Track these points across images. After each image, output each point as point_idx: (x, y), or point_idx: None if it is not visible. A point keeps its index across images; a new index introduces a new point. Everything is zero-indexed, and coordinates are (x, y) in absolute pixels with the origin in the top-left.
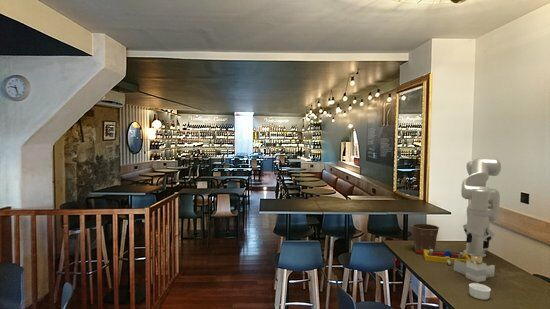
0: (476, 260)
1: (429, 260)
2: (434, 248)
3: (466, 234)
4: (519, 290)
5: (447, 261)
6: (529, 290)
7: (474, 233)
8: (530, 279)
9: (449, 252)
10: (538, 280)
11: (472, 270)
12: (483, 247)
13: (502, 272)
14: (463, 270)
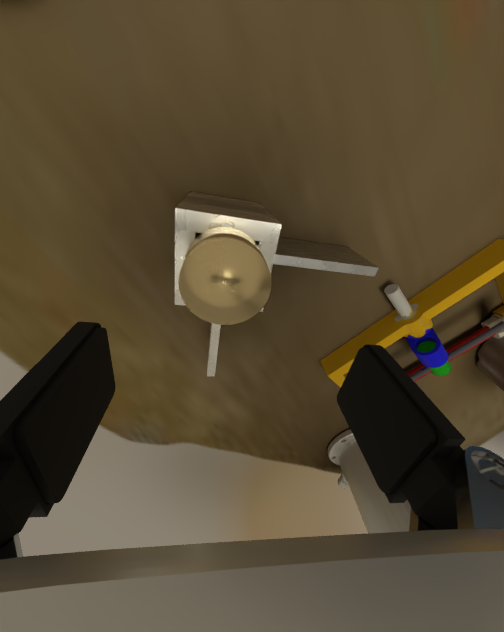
0: (200, 239)
1: (481, 253)
2: (494, 366)
3: (478, 455)
4: (48, 294)
5: (406, 299)
6: (43, 330)
7: (281, 613)
8: (140, 416)
9: (431, 352)
10: (125, 427)
11: (220, 205)
12: (86, 326)
13: (222, 395)
14: (298, 244)
